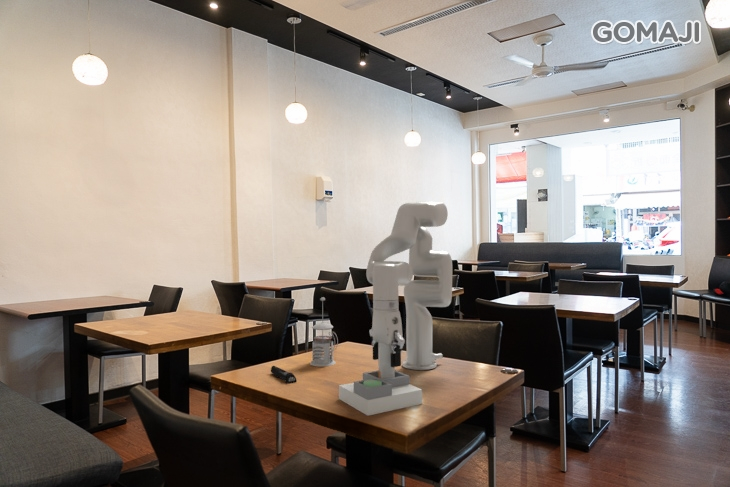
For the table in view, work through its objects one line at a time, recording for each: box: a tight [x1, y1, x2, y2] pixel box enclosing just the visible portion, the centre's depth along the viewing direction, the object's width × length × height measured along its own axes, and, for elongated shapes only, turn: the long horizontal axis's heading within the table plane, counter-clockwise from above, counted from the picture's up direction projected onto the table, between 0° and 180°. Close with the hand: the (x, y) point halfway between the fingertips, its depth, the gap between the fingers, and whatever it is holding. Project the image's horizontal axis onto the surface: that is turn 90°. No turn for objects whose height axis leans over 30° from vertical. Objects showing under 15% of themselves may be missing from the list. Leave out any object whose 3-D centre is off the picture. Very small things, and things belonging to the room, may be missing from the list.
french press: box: [309, 296, 339, 367], centre depth 183 cm, size 10×12×25 cm
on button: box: [363, 380, 382, 387], centre depth 133 cm, size 5×5×3 cm
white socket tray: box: [338, 369, 423, 416], centre depth 139 cm, size 18×16×7 cm
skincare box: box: [377, 342, 396, 379], centre depth 144 cm, size 6×4×12 cm
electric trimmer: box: [270, 365, 297, 385], centre depth 164 cm, size 4×16×3 cm, turn 34°
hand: (386, 362), depth 144 cm, fingers open, 9 cm apart
